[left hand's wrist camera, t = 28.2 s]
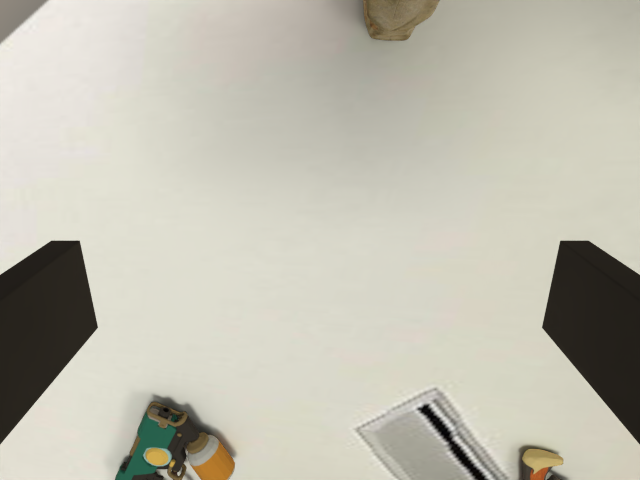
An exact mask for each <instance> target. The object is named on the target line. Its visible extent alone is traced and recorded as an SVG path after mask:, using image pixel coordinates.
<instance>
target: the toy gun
mask: <svg viewBox="0 0 640 480" xmlns="http://www.w3.org/2000/svg"><path fill="white" fill-rule="evenodd" d="M522 460H523V468H522V474H523V480H545V477H546V474H547V473H548V471H549V470H550V469H551V468H552V467H553V466H558V465H562V464H563V458H562V457H560V456H559V455H556V454H554V453H551V452H548V451H544V450H540V449H528V450H527V451H526V452H525V453H524V455H523V457H522ZM547 480H561V479H559V478H558V477H556V476H555V475H551V476H550V477H549V478H548V479H547Z"/></svg>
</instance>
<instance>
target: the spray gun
mask: <svg viewBox="0 0 640 480" xmlns="http://www.w3.org/2000/svg"><path fill="white" fill-rule="evenodd" d="M152 406H157V407H159V408H161V409H160V410H158V409H155V408H151V407H152ZM150 408H151V409H150ZM172 413H173V414H176V415H178V416H181V417H180V418H179V419H177V417H176V415H173V416H171V415H172ZM182 415H183V416H182ZM186 442H188V444H187V451H188V456H187V455H186V453H185V450H184V447H183V446H184V444H185V443H186ZM186 456H187V457H188V460H189V463H190V465H191V466H192V468H193V469H194V470H195V472H196V473H197V474H198V476H199V477H200V479H201V480H229V478H230V477H231V476H232V474H233V472H234V469H235V462H234V460H233V459H232V457H231V456H230V455H229V453H228V452H227V451H226V449H225V448H224V447H223V445H222V444H221V443H220V441H219V440H218V439H217V438H216V437H214V436H212V435H207V433H205V432H201V433H199V432H198V431H197V429H196V427H195V426H194V424H193V423H192V421H191V420H190V418H189V416H188V415H187V413H186V412H185V411H184V412H178V411H176V410H173V409H171V408H169V407H166V406H164V405H162V404H159V403H157V402H152V403H151V404H150V405H149V407H148V409H147V411H146V413H145V415H144V417H143V419H142V421H141V424H140V426H139V428H138V436H137V438H136V440H135V442H134V445H133V447H132V449H131V451H130V457H129V459H128V461H127V462H124V463H123V464H122V465H121V467H120V469H119V471H118V473H117V475H116V478H115V480H162V479H163V478H164V477H163V476H160V475H158V474H157V473H156V472H155V471H156V469H168V471H167V473H168V475H169V476H170V477H171V478H172V479H173V480H181V479H182V478H183V476H184V475H185V472H186V466H185V464H183V463H184V461H185V459H186ZM181 467H182V472H181V474H180V476H178V475H177V472H179V470H180V468H181ZM171 470H172V472H171Z"/></svg>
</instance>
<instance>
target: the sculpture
mask: <svg viewBox="0 0 640 480" xmlns="http://www.w3.org/2000/svg"><path fill="white" fill-rule="evenodd" d="M439 1H440V0H363V5H364V17H365V22H366V26H367V29H368V33H369V35H370V37H371V38H374V39H380V40H407V39H408V38H409V37H410V35H411V33H412V31H413V30H414V28H415V26H416V25H418V24H419V23H421V22H423V21H424V20H426V19H427V18H429V17H430V16H431V15H432V14H433V12H434V10H435V9H436V7H437V5H438V3H439Z"/></svg>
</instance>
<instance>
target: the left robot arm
mask: <svg viewBox="0 0 640 480" xmlns="http://www.w3.org/2000/svg"><path fill="white" fill-rule="evenodd" d="M97 328H98V326H97V321H96V317H95V312H94V307H93V302H92V297H91V293H90V288H89V283H88V278H87V274H86V269H85V264H84V259H83V255H82V250H81V245H80V241H50V242H49V243H47V244H46V245H44V246H43V247H41V248H40V249H38V250H37V251H35V252H34V253H32V254H31V255H29V256H28V257H26V258H25V259H23V260H22V261H20V262H19V263H17V264H16V265H14V266H13V267H11V268H10V269H8V270H7V271H5V272H4V273H2V274H1V275H0V444H1V443H2V442H3V440H4V439H5V438H6V437H7V436H8V434H9V433H10V432H11V431H12V430H13V428H14V427H15V426H16V425H17V424H18V422H19V421H20V420H21V419H22V418H23V416H24V415H25V414H26V413H27V412H28V410H29V409H30V408H31V407H32V406H33V404H34V403H35V402H36V401H37V400H38V399H39V397H40V396H41V395H42V394H43V393H44V391H45V390H46V389H47V388H48V387H49V385H50V384H51V383H52V382H53V381H54V379H55V378H56V377H57V376H58V375H59V373H60V372H61V371H62V370H63V369H64V367H65V366H66V365H67V364H68V363H69V361H70V360H71V359H72V358H73V357H74V355H75V354H76V353H77V352H78V351H79V349H80V348H81V347H82V346H83V345H84V343H85V342H86V341H87V340H88V339H89V338H90V336H91V335H92V334H93V333H94V332H95V330H96V329H97ZM542 328H543V329H544V330H545V332H546V333H547V334H548V335H549V336H550V338H551V339H552V340H553V341H554V342H555V343H556V345H557V346H558V347H559V348H560V349H561V351H562V352H563V353H564V354H565V355H566V357H567V358H568V359H569V360H570V361H571V363H572V364H573V365H574V366H575V367H576V369H577V370H578V371H579V372H580V373H581V375H582V376H583V377H584V378H585V379H586V381H587V382H588V383H589V384H590V385H591V387H592V388H593V389H594V390H595V391H596V393H597V394H598V395H599V396H600V397H601V399H602V400H603V401H604V402H605V403H606V404H607V406H608V407H609V408H610V409H611V410H612V412H613V413H614V414H615V415H616V416H617V418H618V419H619V420H620V421H621V422H622V424H623V425H624V426H625V427H626V428H627V430H628V431H629V432H630V433H631V434H632V436H633V437H634V438H635V439H636V440H637V442H638V443H639V444H640V275H639V274H638V273H636V272H635V271H633V270H632V269H630V268H629V267H627V266H626V265H624V264H623V263H621V262H620V261H618V260H617V259H615V258H614V257H612V256H611V255H609V254H608V253H606V252H605V251H603V250H602V249H600V248H599V247H597V246H596V245H594V244H593V243H591V242H590V241H560V245H559V250H558V255H557V259H556V264H555V269H554V274H553V278H552V283H551V288H550V293H549V297H548V302H547V307H546V312H545V317H544V321H543V326H542Z"/></svg>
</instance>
